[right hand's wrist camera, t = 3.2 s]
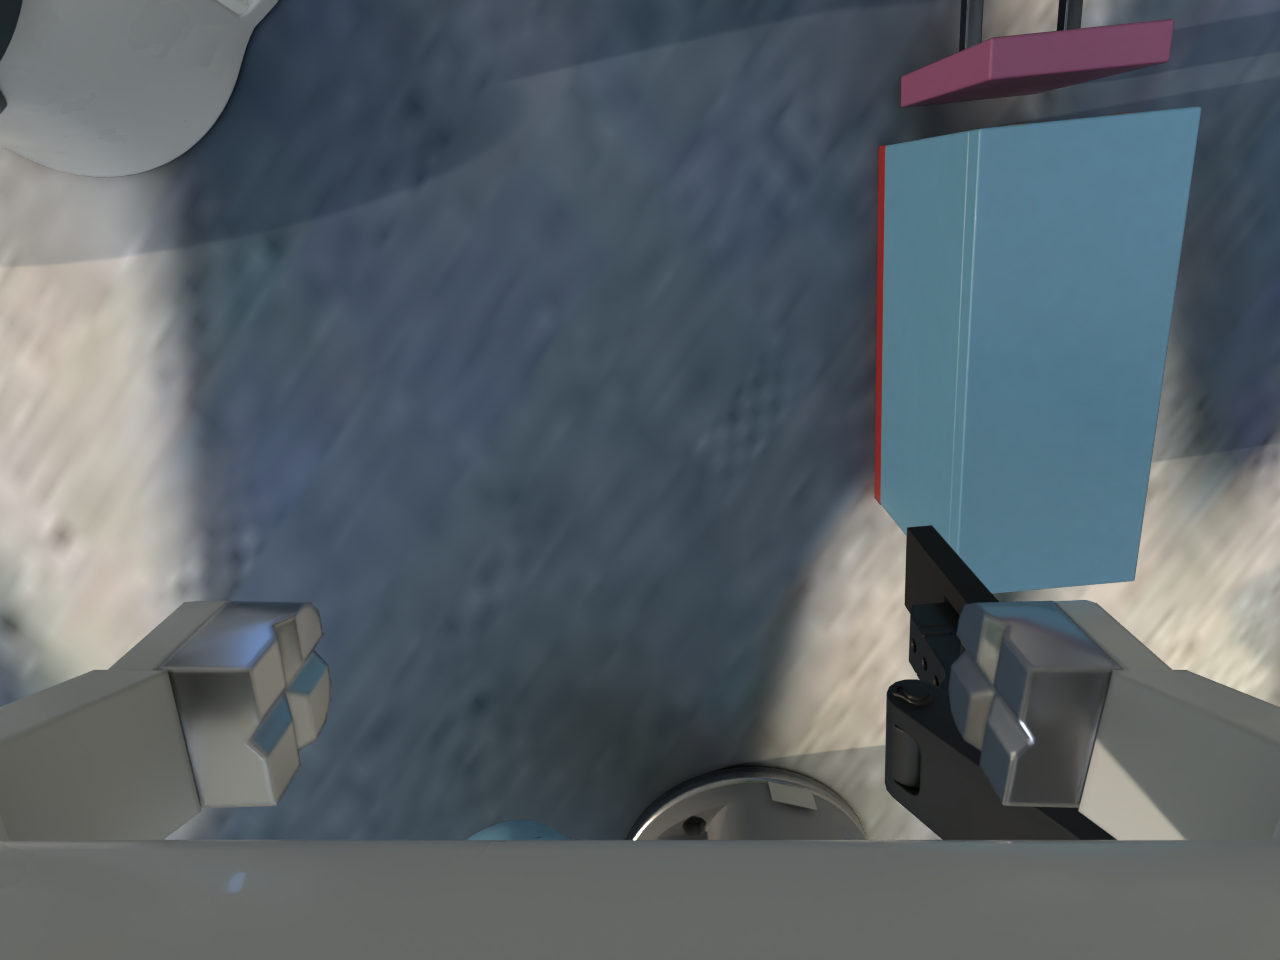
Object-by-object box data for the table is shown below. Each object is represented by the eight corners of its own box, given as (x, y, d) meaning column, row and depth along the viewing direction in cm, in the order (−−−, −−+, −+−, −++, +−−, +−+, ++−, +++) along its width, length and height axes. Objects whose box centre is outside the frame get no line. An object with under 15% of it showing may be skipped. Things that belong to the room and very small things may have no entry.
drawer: (904, -92, 30) (1004, -196, 22) (1051, -108, 30) (1206, -218, 22) (893, 431, 38) (965, 497, 30) (1011, 420, 38) (1116, 483, 29)
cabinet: (878, 146, 34) (979, 128, 24) (1037, 130, 34) (1203, 105, 24) (874, 497, 40) (954, 597, 30) (1010, 485, 40) (1135, 582, 30)
